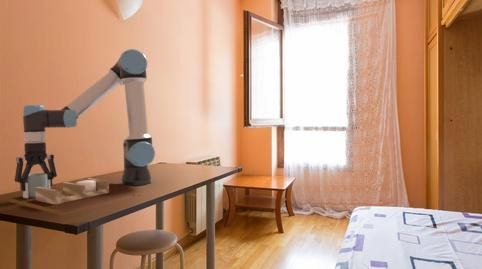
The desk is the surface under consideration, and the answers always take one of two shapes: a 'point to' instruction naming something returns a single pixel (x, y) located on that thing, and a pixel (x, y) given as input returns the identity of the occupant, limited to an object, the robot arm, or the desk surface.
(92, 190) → the white rounded piece
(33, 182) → the cup
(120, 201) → the desk surface
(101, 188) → the rack
